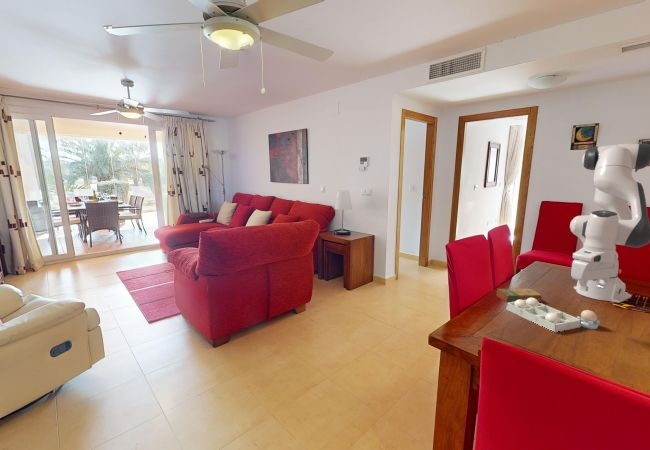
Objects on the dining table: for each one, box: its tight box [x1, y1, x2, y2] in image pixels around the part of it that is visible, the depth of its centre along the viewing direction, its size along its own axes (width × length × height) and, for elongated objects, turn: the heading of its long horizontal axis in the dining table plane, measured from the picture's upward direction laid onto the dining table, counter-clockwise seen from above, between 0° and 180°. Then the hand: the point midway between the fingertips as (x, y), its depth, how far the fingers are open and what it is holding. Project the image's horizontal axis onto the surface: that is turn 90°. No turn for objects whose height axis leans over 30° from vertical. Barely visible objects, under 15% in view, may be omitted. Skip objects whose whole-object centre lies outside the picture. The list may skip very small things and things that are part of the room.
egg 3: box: [545, 313, 560, 324], centre depth 111 cm, size 5×5×5 cm
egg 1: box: [514, 299, 527, 309], centre depth 124 cm, size 5×5×5 cm
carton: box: [495, 287, 542, 304], centre depth 137 cm, size 8×16×4 cm, turn 90°
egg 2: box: [526, 298, 539, 307], centre depth 126 cm, size 5×5×5 cm
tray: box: [505, 300, 582, 333], centre depth 119 cm, size 14×20×3 cm
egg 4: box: [580, 309, 598, 322], centre depth 112 cm, size 5×5×5 cm
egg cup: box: [576, 315, 600, 330], centre depth 113 cm, size 6×6×3 cm
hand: (592, 289), depth 110 cm, fingers open, 8 cm apart
